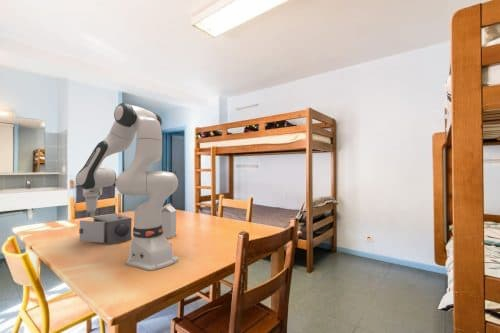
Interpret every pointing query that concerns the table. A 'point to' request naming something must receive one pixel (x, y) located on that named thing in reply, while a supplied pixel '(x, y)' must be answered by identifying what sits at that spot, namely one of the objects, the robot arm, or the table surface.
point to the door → (92, 231)
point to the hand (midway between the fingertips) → (92, 217)
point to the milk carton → (168, 221)
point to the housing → (116, 227)
